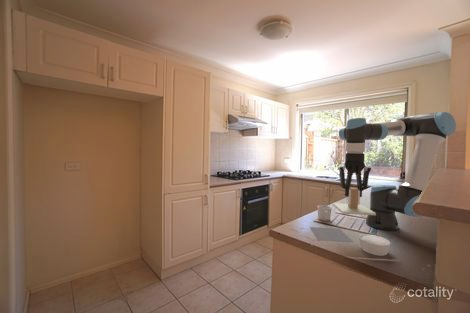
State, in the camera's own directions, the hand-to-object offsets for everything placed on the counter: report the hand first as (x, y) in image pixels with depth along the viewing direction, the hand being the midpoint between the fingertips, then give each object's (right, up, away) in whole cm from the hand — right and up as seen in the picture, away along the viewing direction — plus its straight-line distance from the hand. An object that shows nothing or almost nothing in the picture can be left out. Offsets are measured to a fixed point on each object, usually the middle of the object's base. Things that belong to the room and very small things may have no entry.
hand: (352, 203), depth 96 cm
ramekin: (+5, -19, -6) cm, 21 cm away
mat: (-6, -18, +10) cm, 21 cm away
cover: (0, -3, 0) cm, 3 cm away
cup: (0, -17, +30) cm, 35 cm away
